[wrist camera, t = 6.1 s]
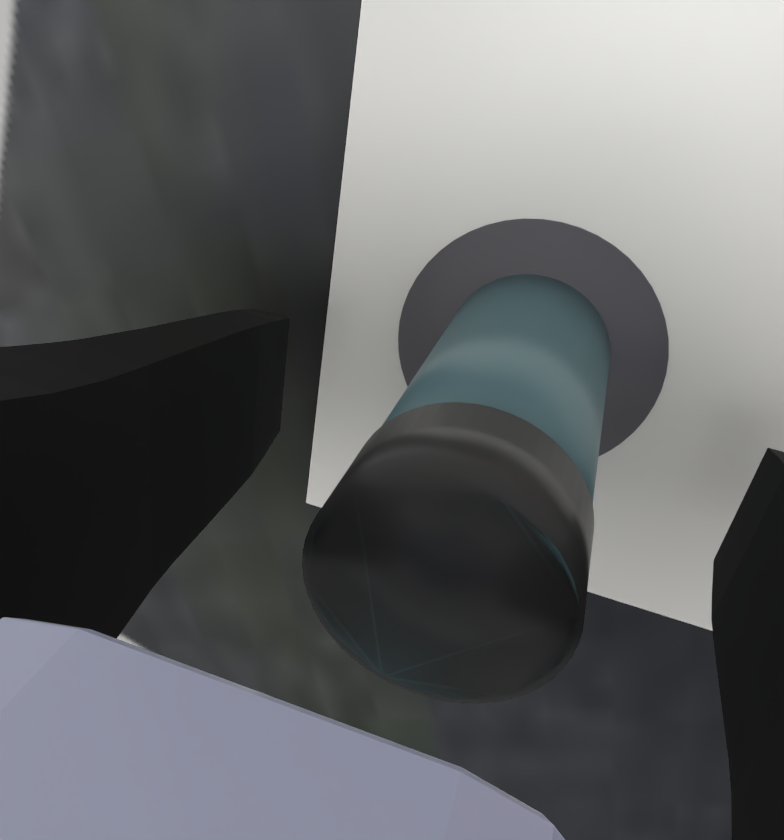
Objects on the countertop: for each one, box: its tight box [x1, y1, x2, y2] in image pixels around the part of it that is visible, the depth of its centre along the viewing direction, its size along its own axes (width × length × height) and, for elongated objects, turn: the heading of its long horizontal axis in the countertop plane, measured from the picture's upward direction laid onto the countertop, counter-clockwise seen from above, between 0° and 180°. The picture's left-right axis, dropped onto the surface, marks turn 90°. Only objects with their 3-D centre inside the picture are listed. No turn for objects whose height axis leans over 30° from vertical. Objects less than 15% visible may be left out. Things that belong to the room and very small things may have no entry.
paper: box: [306, 0, 784, 631], centre depth 13 cm, size 16×12×1 cm
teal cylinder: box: [302, 274, 610, 703], centre depth 11 cm, size 3×3×7 cm
